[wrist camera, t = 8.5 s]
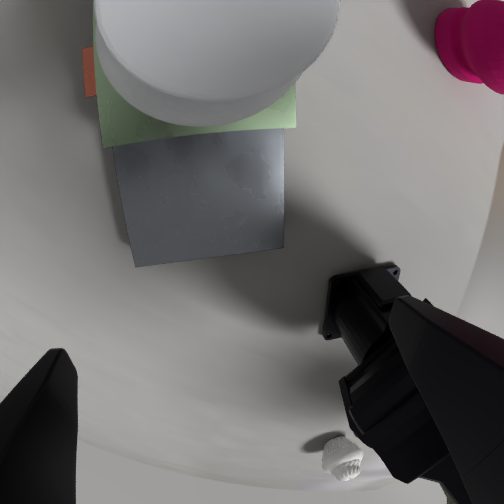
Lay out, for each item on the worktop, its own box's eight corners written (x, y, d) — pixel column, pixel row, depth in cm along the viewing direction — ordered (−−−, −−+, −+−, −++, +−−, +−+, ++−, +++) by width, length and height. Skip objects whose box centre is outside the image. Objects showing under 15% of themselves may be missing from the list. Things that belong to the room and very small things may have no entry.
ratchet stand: (274, 234, 22) (305, 284, 16) (130, 252, 20) (116, 310, 15) (264, -90, 11) (294, -136, 5) (105, -79, 9) (85, -125, 4)
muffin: (346, 446, 42) (362, 481, 36) (310, 455, 41) (325, 493, 35) (359, 426, 39) (378, 464, 33) (321, 436, 38) (338, 477, 32)
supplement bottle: (113, 40, 11) (7, -27, 2) (221, -18, 10) (285, -145, 2) (173, 133, 13) (156, 210, 5) (277, 76, 13) (419, 70, 5)
